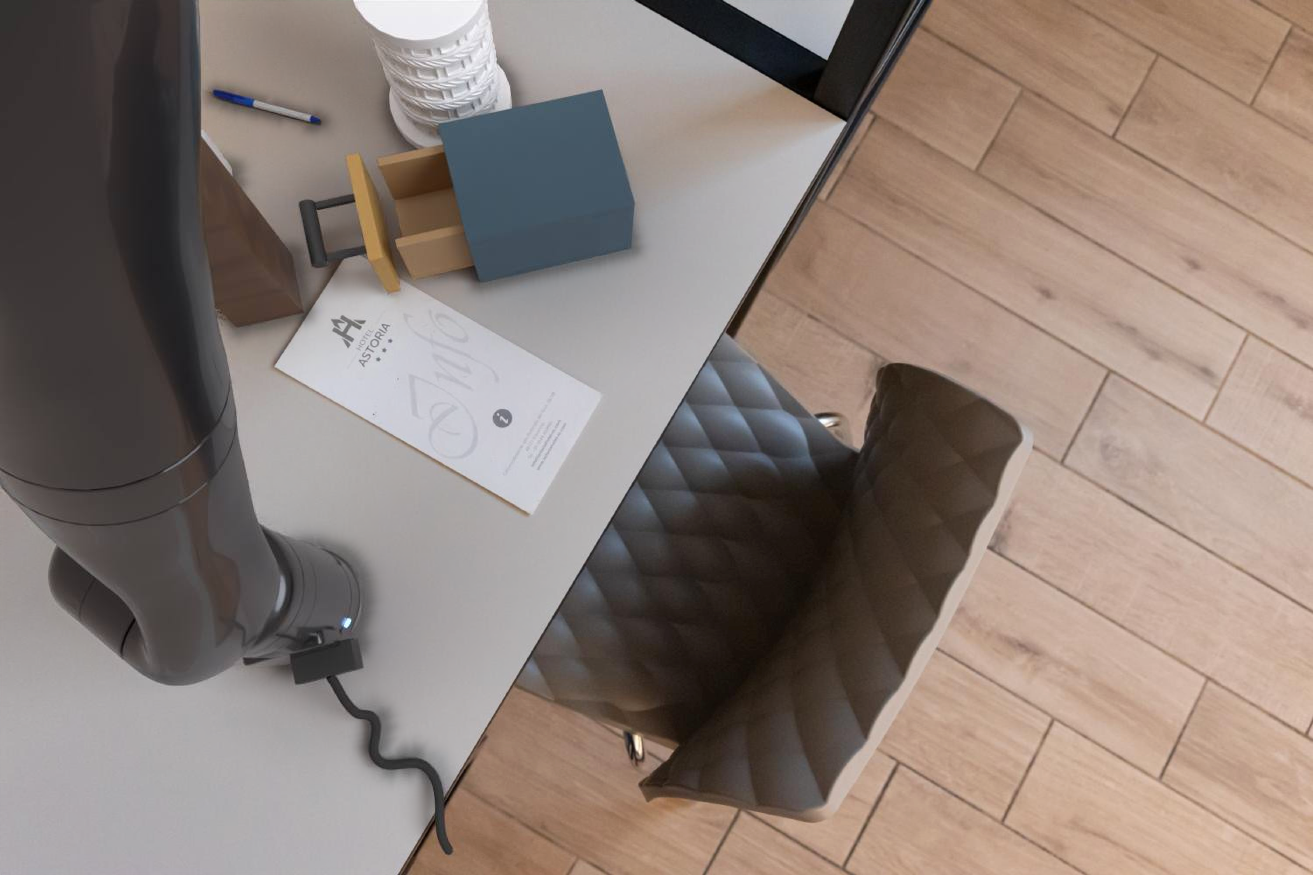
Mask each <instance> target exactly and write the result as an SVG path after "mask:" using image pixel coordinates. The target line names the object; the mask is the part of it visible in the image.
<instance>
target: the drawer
mask: <svg viewBox="0 0 1313 875" xmlns="http://www.w3.org/2000/svg"><path fill="white" fill-rule="evenodd" d="M344 157H345V162H346V166H347V170H348V174H349V179H350V183H351V184H350V185H351V188H352V192H353V193H350V194H345V195H341V196H336V197H331V198H327V199H321V200H318V201H315V200H314V199H311V198H310V199H309V198H307V199H303V200H300V201H299V202H298V208H299V214H300V218H301V223H302V227H303V228H302V229H303V232H304V237H305V242H306V246H307V251H308V256H309V260H310V265H311V267H312V268H314V269H324V268H326V267H327V266H329V263H332V262H336V261H340V260H345V259H350V258H354V257H359V256H363V255H367V256H366V257H367V259H368V263H369V264H370V266H371V267H372V270H374V272H375V274H376V276H377V278H378V279H379V281H380V282H381V284H382V286H383V288H384V289H385V291H386V293H387V294H388V295H390V294H394V293H399V292H401V291H402V289H401V284H400V280H399V276H398V272H397V267H396V263H395V258H394V255H393V251H392V250H393V249H392V245H391V241H390V236H389V233H388V228H387V224H386V219H385V214H384V210H383V206H382V202H381V198H380V194H379V192H378V189H377V188H376V186H375V183H374V182H373V179H372V177H371V175H370V173H369V170H368V168H367V166H366V165H365V162H364V161H363V159H362V156H361V155H360V153H359V152H357V153H353V154H349V155H345V156H344ZM376 163H377V167H378V169H379V171H380V173H381V175H382V178H383V180H384V183H385V185H386V187H387V189H388V191H389V193H390V196H391V197H392V199H393V204H394V208H395V212H396V216H397V220H398V225H399V228H400V234H401V237H398V238H395V239H394V240H395V245H396V248H397V251H398V253H399V254H400V256H401V259H402V260H403V261H402V262H404V264H405V267H406V269H407V271H408V273H409V274H410V276H411V279H412V280H416V279H417V280H418V279H421V278H425V277H431V276H434V275H438V274H443V273H447V272H451V271H456V270H460V269H465V268H468V267H475V265H474V262H473V259H472V256H471V253H470V250H469V247H468V244H467V240H466V236H465V232H464V228H463V224H462V220H461V216H460V212H459V208H458V204H457V200H456V196H455V192H454V188H453V184H452V180H451V175H450V171H449V167H448V163H447V159H446V155H445V151H444V147H443V144H442V145H437V146H432V147H428V148H423V149H414V150H409V151H405V152H401V153H400V152H399V153H396V154H390V155H386V156H381V157H378V158H376ZM354 203H355V205H356V210H357V216H358V219H359V224H360V229H361V233H362V238H363V242H364V245H358V246H355V247H349V248H346V249H341V250H337V251H333V252H326V247H325V242H324V237H323V232H322V227H321V223H320V219H319V214H318V213H319V212H318V211H323V210H328V209H332V208H338V207H340V206H341V207H342V206H346V205H350V204H354Z"/></svg>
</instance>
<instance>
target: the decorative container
mask: <svg viewBox="0 0 1313 875" xmlns="http://www.w3.org/2000/svg"><path fill="white" fill-rule="evenodd" d="M352 1H353V4H354V6H355V9H356V11H357V14H358V17H359V18H360V20H361V21H362V22H363V24H364V25H365V26H366V28H367V30H368V33H369V36H370V37H371V38H372V40H373V43H374V48H375V52H376V54H377V57H378V59H379V61H380V62H381V64H382V70H383V73H384V76H385V78H386V81H387V82H388V84H389V88H390V89H389V93H388V98H389V99H388V100H389V110H390V112H391V115H392V118H393V121H394V123H395V125H396V128H397V130H398V132H400V134H401V135H402V137H403V138H404V139H405V140H406V141H407V142H408V143H409V144H410V145H412V146H413V147H414V148H416V150H418V149H423V148H428V147H432V146H437V145H442V144H443V143H442V139H441V135H440V131H439V127H438V124H440V123H445V122H450V121H455V120H459V119H464V118H469V117H473V116H478V115H483V114H488V113H492V112H497V111H502V110H507V109H511V108H513V101H512V93H511V86H510V83H509V81H508V80H509V79H508V78H507V76H506V73H505V71H504V70H503V69H502V68H501V66H500V65H499V63H498V62H497V60H498V58H497V50H496V49H495V48H496V44H495V42H494V41H493V40H494V35H493V27H492V26H491V25H492V22H491V20H490V18H489V15H490V13H489V4H488V0H352Z"/></svg>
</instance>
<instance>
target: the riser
mask: <svg viewBox="0 0 1313 875" xmlns="http://www.w3.org/2000/svg"><path fill="white" fill-rule="evenodd" d="M201 164H202V200H203V216H204V224H205V232H206V240H207V246H208V253H209V260H210V268H211V276H212V283H213V291H214V299H215V307H216V310H218V311H219V312H220V313H221V314H222V315H223V316H225V318H226V319H228V320H229V321H230V322H231V324H233V325H234V326H235V327H237V328H238V329H239V328H242V327H243V328H244V327H247V326H252V325H256V324H261V323H265V322H269V321H273V320H277V319H278V320H279V319H282V318H286V317H291V316H295V315H300V314H303V313H304V307H303V301H302V297H301V292H300V288H299V282H298V278H297V273H296V268H295V263H294V259H293V254H292V252H291V251H290V249H289V248H288V247H287V245H286V244H285V243H284V242H283V240H282V239H281V238H280V236H279V235H278V234H277V232H275V230H274V229H273V227H272V226H271V225H270V224H269V222H268V221H267V219H266V218H265V217H264V216H263V214H262V213H261V212H260V211H259V209H258V208H257V206H256V205H255V204H254V202H252V200H251V199H250V197H249V196H248V195H247V194H246V192H245V191H244V189H243V188H242V187H241V186H240V184H239V183H238V181H237V180H236V179H235V178H234V176H233V177H232V175H231V174H230V173H229V171H228V170H227V169H226V167H225V166H224V165H223V164H222V162H221V161H220V160H219V158H218V157H217V156H216V154H215V153H214V152H213V151H212V149H211V148H210V147H209V145H208V144H207V143H206V141H205V140H204V139H203V137H202V136H201Z"/></svg>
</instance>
